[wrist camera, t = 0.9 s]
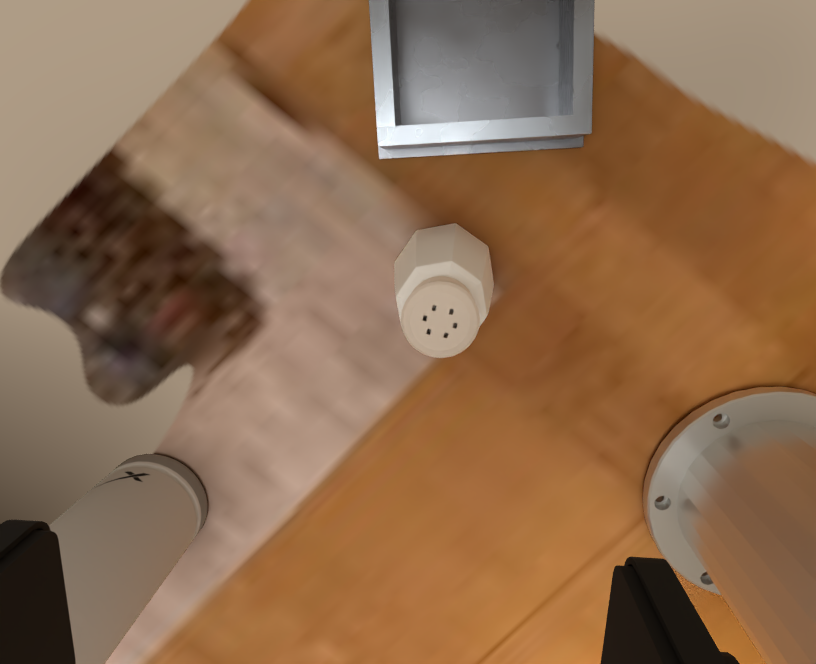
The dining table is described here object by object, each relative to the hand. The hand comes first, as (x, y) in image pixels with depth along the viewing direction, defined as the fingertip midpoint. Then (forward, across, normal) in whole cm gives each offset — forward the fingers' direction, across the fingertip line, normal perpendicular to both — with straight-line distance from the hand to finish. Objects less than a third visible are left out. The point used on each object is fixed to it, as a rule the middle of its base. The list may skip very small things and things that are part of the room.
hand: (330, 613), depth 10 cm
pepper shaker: (+23, -2, -2) cm, 23 cm away
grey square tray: (+23, -3, -13) cm, 27 cm away
